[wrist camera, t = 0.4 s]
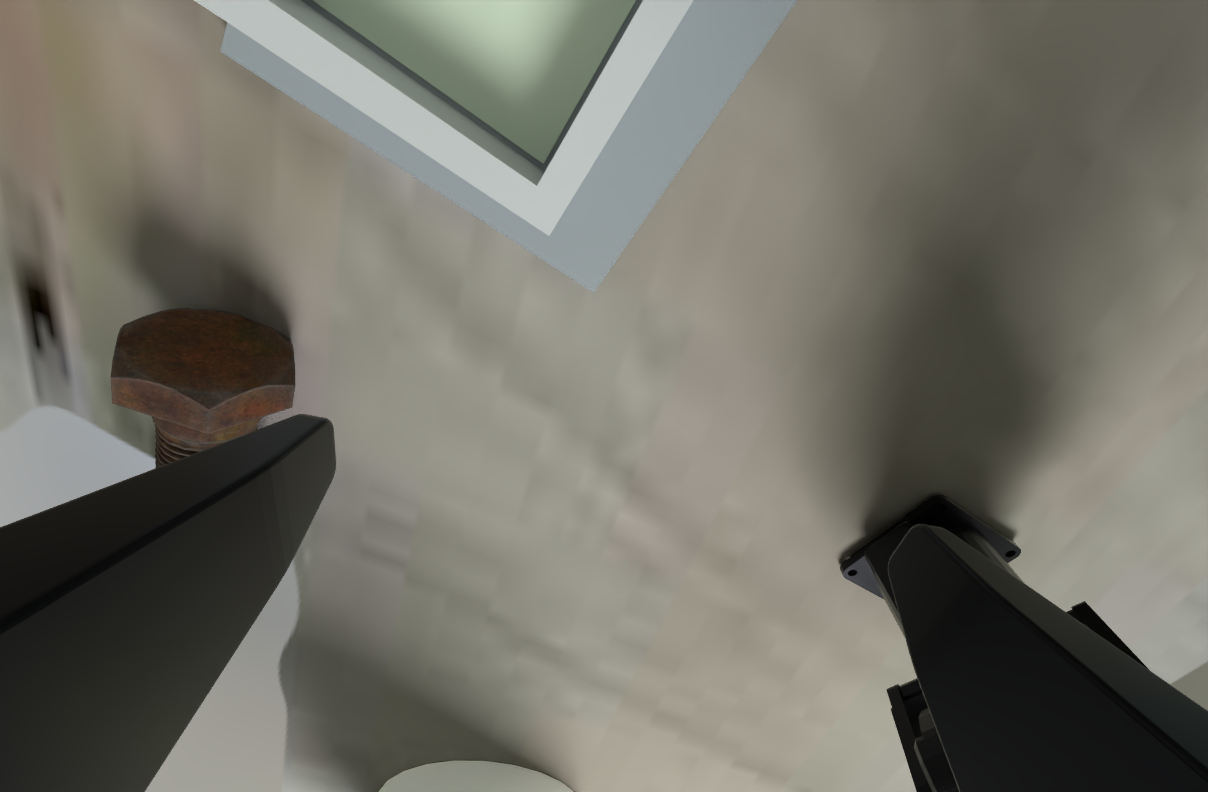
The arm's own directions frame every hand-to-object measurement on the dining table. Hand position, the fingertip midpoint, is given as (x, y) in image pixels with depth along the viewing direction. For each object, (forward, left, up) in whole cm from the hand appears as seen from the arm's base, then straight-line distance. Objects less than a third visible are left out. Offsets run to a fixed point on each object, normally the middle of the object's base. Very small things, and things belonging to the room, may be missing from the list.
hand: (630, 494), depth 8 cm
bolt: (+9, +18, -13) cm, 24 cm away
